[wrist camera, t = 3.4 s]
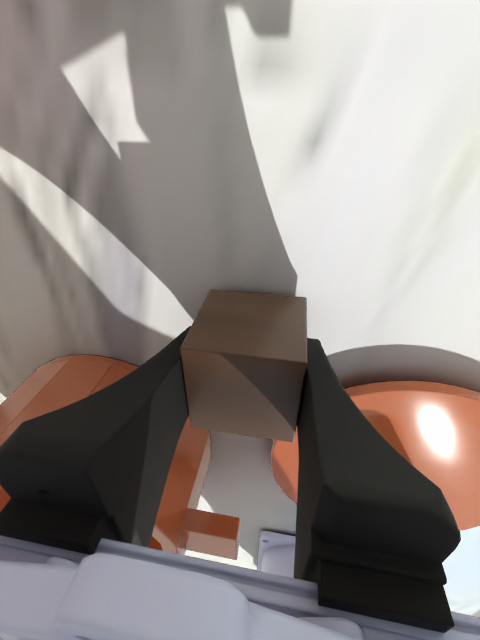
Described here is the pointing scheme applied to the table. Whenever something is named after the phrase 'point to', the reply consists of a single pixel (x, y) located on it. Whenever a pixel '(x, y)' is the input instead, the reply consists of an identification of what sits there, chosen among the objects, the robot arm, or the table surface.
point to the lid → (415, 439)
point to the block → (246, 364)
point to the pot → (186, 468)
